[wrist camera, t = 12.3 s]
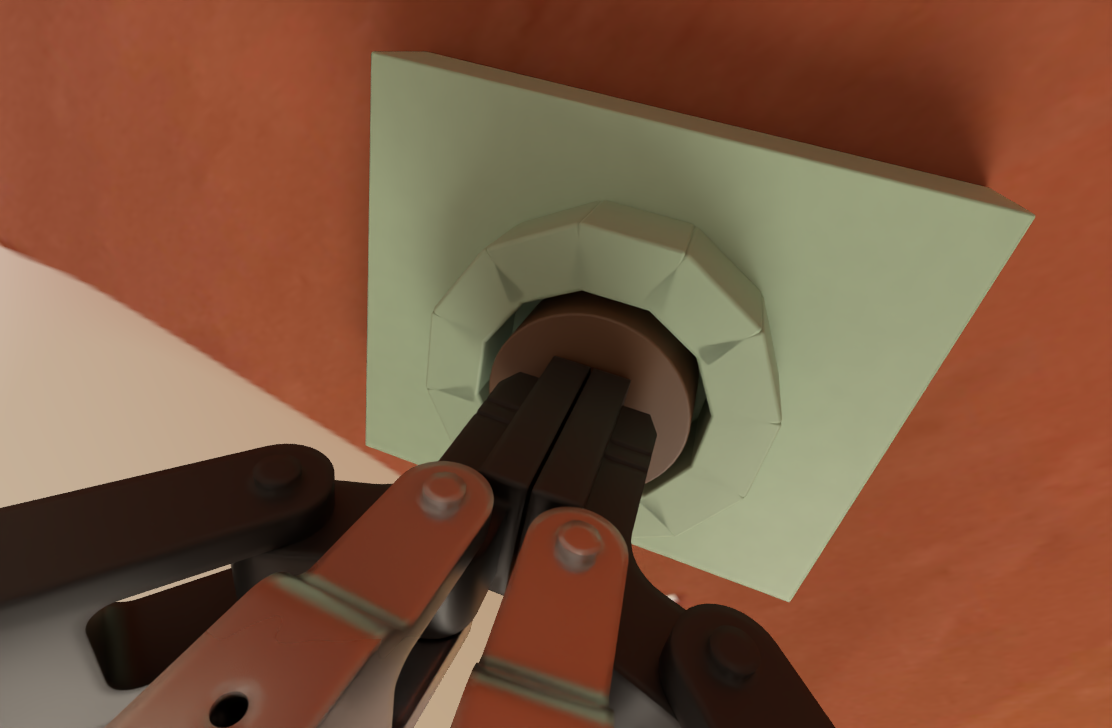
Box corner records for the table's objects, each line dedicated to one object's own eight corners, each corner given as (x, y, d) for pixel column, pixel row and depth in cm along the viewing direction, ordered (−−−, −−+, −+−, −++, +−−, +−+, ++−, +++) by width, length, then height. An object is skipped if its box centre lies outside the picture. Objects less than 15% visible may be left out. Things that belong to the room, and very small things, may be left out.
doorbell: (990, 187, 11) (1093, 247, 8) (785, 540, 16) (794, 668, 13) (425, 51, 13) (309, 50, 10) (404, 405, 18) (324, 486, 15)
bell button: (726, 313, 11) (722, 353, 10) (668, 466, 13) (656, 518, 12) (534, 256, 12) (502, 286, 10) (507, 411, 14) (477, 453, 12)
